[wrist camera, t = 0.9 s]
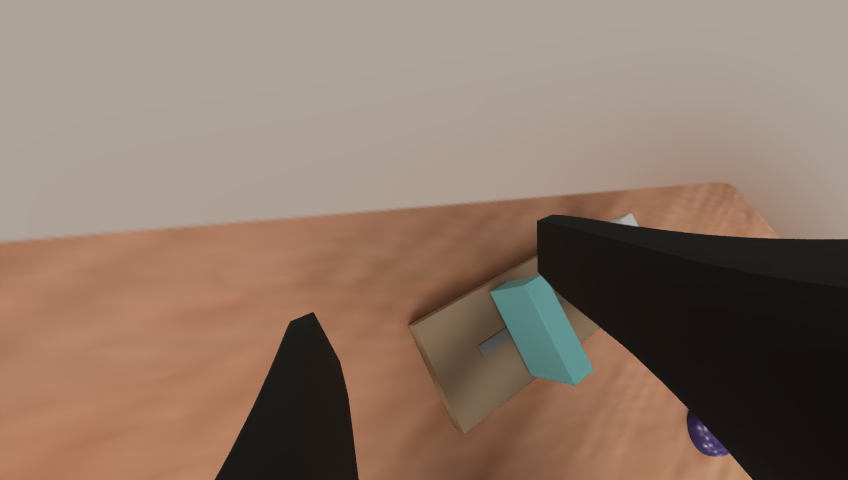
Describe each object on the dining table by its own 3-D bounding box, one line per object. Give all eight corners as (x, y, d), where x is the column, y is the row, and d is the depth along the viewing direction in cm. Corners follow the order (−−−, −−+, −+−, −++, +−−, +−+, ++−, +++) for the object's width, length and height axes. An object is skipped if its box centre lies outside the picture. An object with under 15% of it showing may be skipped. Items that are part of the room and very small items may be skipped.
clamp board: (617, 303, 28) (681, 298, 23) (454, 427, 20) (499, 460, 15) (578, 231, 29) (633, 211, 24) (407, 325, 21) (435, 325, 16)
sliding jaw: (548, 362, 22) (594, 369, 18) (531, 375, 21) (575, 385, 18) (507, 281, 23) (544, 273, 19) (489, 291, 22) (523, 285, 18)
